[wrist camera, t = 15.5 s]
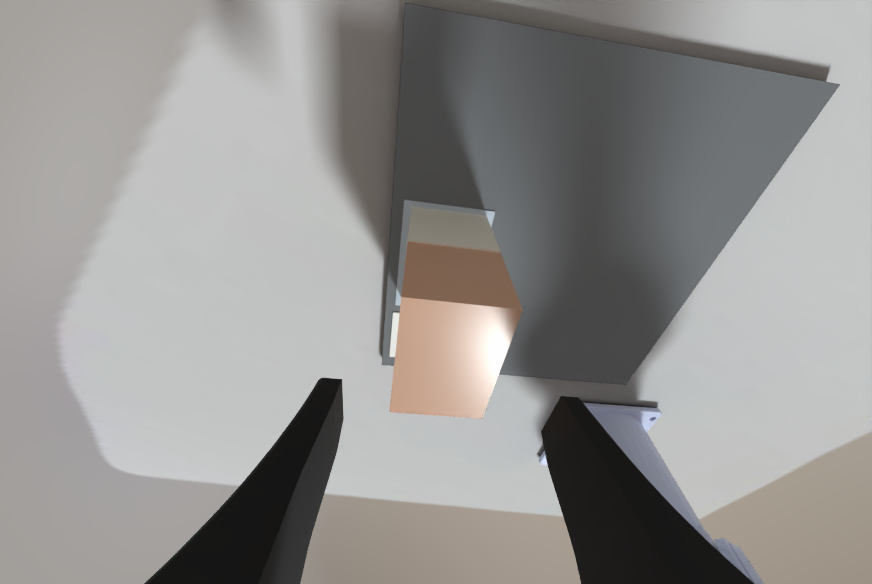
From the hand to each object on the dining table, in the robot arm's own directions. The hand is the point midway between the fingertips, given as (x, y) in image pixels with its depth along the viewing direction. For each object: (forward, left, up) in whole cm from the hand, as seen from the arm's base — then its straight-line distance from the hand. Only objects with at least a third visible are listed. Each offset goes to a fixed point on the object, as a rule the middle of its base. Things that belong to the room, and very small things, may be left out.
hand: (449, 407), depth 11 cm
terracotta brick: (0, 0, -6) cm, 6 cm away
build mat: (+1, -6, -10) cm, 12 cm away
